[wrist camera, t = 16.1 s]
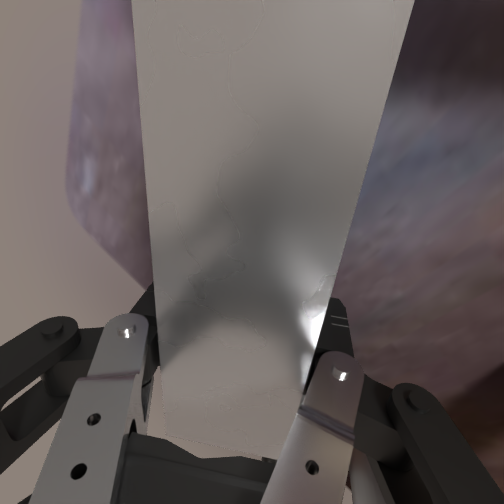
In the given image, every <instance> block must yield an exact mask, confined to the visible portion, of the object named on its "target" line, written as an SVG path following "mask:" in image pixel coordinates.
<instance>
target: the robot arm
mask: <svg viewBox="0 0 504 504" xmlns="http://www.w3.org/2000/svg"><path fill="white" fill-rule="evenodd" d="M348 327H349V325H348V320H347V313H346V308H345V307H344V305H343V304H342V303H341V301H340V300H339V299H336V298H331V297H330V299H329V303H328V306H327V310H326V313H325V317H324V320H323V324H322V327H321V331H320V334H319V338H318V341H317V345H316V348H315V352H314V355H313V359H312V362H311V366H310V369H309V373H308V376H307V380H306V383H305V387H304V390H303V394H302V395H305V397H304V400H303V402H302V405H301V407H299V409H298V411H297V414H296V416H295V418H294V421H293V423H292V426H291V428H290V431H289V433H288V436H287V438H286V441H285V443H284V446H283V448H282V451H281V453H280V456H279V458H278V461H277V463H276V464H273V463H269V462H264V461H260V460H255V459H251V458H246V457H242V456H237V457H221V458H205V459H202V458H198V457H196V456H194V455H193V454H191V453H189V452H187V451H185V450H184V449H182V448H180V447H178V446H177V445H175V444H173V443H171V442H169V441H168V440H165V439H161V438H156V437H152V436H147V427H148V419H149V412H150V405H151V397H152V390H153V381H154V376H153V375H154V373H155V371H156V369H157V367H158V366H160V357H159V344H158V331H157V318H156V306H155V293H154V281H153V282H152V285H150V286H149V288H148V289H147V291H145V293H144V294H143V295H142V297H141V298H140V299H139V301H138V302H137V303H136V305H135V306H134V307H133V308H132V310H131V311H130V312H129V313H127V314H122V315H119V316H116V317H114V318H113V319H111V320H110V321H109V322H108V323H107V324H106V325H105V327H101V328H85V329H79V328H78V324H77V322H76V321H75V320H74V319H73V318H70V317H65V316H58V317H52V318H49V319H46V320H43V321H41V322H39V323H38V324H36V325H34V326H33V327H31V328H30V329H28V330H26V331H25V332H23V333H21V334H20V335H18V336H17V337H15V338H13V339H12V340H10V341H8V342H7V343H5V344H4V345H2V346H0V411H1V409H2V407H3V406H4V404H5V403H6V402H7V401H8V400H9V399H10V398H12V397H13V396H14V395H16V394H17V393H18V392H19V391H21V390H22V389H23V388H25V387H26V386H27V385H29V384H30V383H31V382H33V381H34V380H35V379H36V378H38V377H39V376H40V377H41V379H42V380H41V381H39V382H38V383H37V384H35V385H34V386H33V387H32V388H30V389H29V390H28V391H26V392H25V393H24V394H23V395H21V396H20V397H19V398H18V399H16V400H15V401H14V402H12V403H11V404H10V405H8V406H7V407H6V408H5V409H3V410H2V411H1V412H0V474H2V473H3V472H4V471H5V470H6V469H7V468H8V467H9V466H10V465H11V464H12V463H13V462H14V461H15V460H16V459H17V458H19V457H20V456H21V455H22V454H23V453H24V452H25V451H26V450H27V449H28V448H29V447H31V446H32V445H33V443H35V442H36V441H37V440H38V439H39V438H40V437H41V436H42V435H43V434H44V433H46V432H47V431H48V430H49V429H50V428H51V427H52V426H53V425H54V424H55V423H56V422H57V421H58V420H60V419H61V420H60V423H59V426H58V428H57V431H56V433H55V436H54V439H53V441H52V444H51V447H50V449H49V452H48V454H47V457H46V460H45V462H44V465H43V467H42V470H41V473H40V475H39V478H38V481H37V483H36V485H35V488H34V491H33V493H32V494H31V495H30V496H28V497H27V498H25V499H24V500H22V501H21V502H19V503H18V504H342V500H343V495H344V490H345V485H346V480H347V475H348V470H349V473H350V481H351V490H352V500H353V504H504V494H503V493H502V491H501V490H500V488H499V487H498V486H497V484H496V483H495V481H494V480H493V478H492V477H491V476H490V474H489V473H488V471H487V470H486V468H485V467H484V466H483V464H482V463H481V461H480V460H479V458H478V457H477V455H476V454H475V453H474V451H473V450H472V448H471V447H470V445H469V444H468V443H467V441H466V440H465V438H464V437H463V435H462V434H461V433H460V431H459V430H458V428H457V427H456V425H455V424H454V422H453V421H452V420H451V418H450V417H449V415H448V414H447V412H446V411H445V410H444V408H443V407H442V405H441V404H440V402H439V401H438V400H437V399H436V398H435V397H434V396H433V395H432V394H431V393H430V392H428V391H427V390H426V389H424V388H422V387H420V386H418V385H415V384H411V383H401V384H398V385H397V386H395V387H394V389H391V388H389V387H387V386H385V385H383V384H381V383H378V382H376V381H374V380H372V379H371V378H369V377H368V376H367V375H366V374H364V371H363V368H362V366H361V365H360V364H359V362H358V361H357V360H356V359H355V358H354V353H353V348H352V342H351V336H350V330H349V328H348Z"/></svg>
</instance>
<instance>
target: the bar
mask: <svg viewBox="0 0 504 504" xmlns="http://www.w3.org/2000/svg"><path fill="white" fill-rule="evenodd" d="M414 1H415V0H132V13H133V26H134V38H135V51H136V64H137V77H138V89H139V102H140V115H141V128H142V140H143V153H144V166H145V178H146V191H147V204H148V217H149V229H150V242H151V255H152V267H153V280H154V293H155V306H156V318H157V331H158V344H159V357H160V369H161V382H162V393H163V407H164V419H165V433H166V435H167V436H171V437H176V438H180V439H185V440H189V441H194V442H199V443H203V444H208V445H212V446H217V447H221V448H226V449H230V450H235V451H240V452H244V453H249V454H253V455H258V456H262V457H267V458H271V459H276V460H278V458H279V456H280V453H281V451H282V448H283V446H284V443H285V441H286V438H287V436H288V433H289V431H290V428H291V426H292V423H293V421H294V418H295V416H296V414H297V411H298V408H299V404H300V401H301V397H302V394H303V390H304V387H305V383H306V380H307V376H308V373H309V369H310V366H311V362H312V359H313V355H314V352H315V348H316V345H317V341H318V338H319V334H320V331H321V327H322V324H323V320H324V317H325V313H326V310H327V306H328V303H329V299H330V296H331V292H332V289H333V285H334V282H335V278H336V275H337V271H338V268H339V264H340V261H341V257H342V254H343V250H344V246H345V243H346V239H347V236H348V232H349V229H350V225H351V222H352V218H353V215H354V211H355V208H356V204H357V201H358V197H359V194H360V190H361V187H362V183H363V180H364V176H365V173H366V169H367V166H368V162H369V159H370V155H371V152H372V148H373V145H374V141H375V138H376V134H377V131H378V127H379V124H380V120H381V117H382V113H383V110H384V106H385V103H386V99H387V96H388V92H389V89H390V85H391V82H392V78H393V75H394V71H395V68H396V64H397V61H398V57H399V54H400V50H401V46H402V43H403V39H404V36H405V32H406V29H407V25H408V22H409V18H410V15H411V11H412V8H413V4H414Z"/></svg>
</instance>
